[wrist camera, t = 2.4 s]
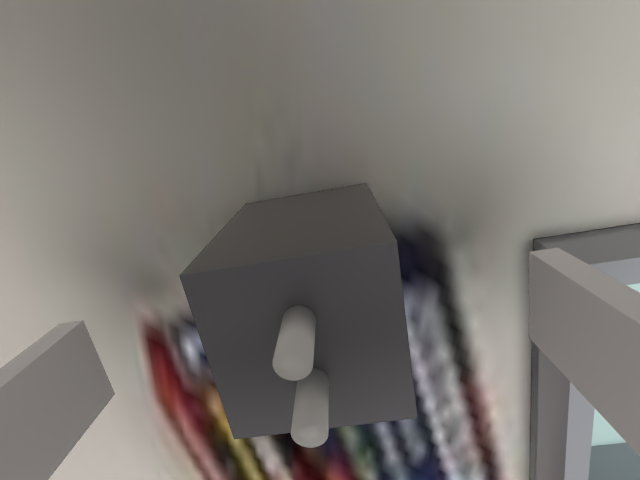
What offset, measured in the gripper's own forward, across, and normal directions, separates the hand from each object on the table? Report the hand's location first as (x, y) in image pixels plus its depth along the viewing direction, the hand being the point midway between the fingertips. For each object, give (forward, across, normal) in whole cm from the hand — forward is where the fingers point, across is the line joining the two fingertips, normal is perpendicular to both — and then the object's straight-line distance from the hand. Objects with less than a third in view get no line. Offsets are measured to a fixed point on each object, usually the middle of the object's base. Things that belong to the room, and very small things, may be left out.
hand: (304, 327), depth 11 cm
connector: (+5, 0, 0) cm, 5 cm away
